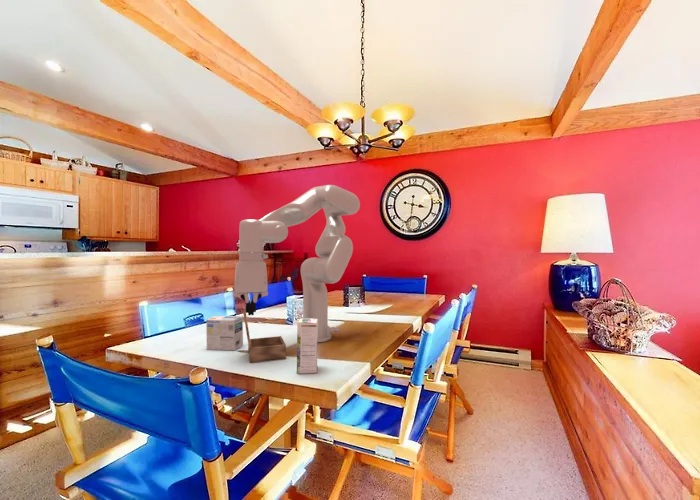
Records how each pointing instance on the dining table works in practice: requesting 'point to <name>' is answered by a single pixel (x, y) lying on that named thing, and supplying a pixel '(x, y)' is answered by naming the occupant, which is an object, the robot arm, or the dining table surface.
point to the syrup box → (307, 345)
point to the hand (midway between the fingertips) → (250, 314)
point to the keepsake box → (267, 349)
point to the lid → (246, 327)
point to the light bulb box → (224, 332)
